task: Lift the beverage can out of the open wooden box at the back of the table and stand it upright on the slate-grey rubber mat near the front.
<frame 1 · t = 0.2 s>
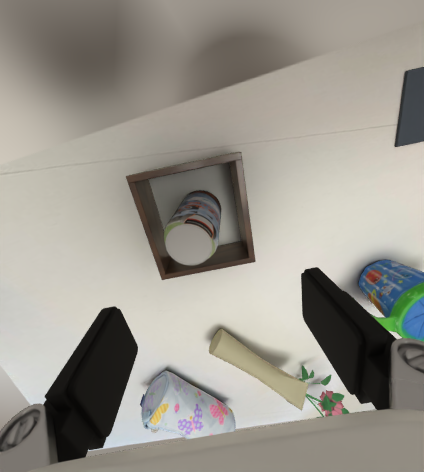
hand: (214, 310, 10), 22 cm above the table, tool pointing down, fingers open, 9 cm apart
open wooden box: (197, 211, 31), on the table
flower vase: (277, 358, 45), on the table
snack cup: (376, 275, 37), on the table
beverage can: (197, 211, 31), resting in open wooden box
pencil case: (191, 388, 47), on the table
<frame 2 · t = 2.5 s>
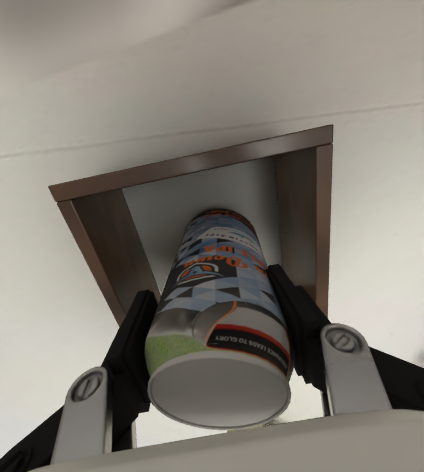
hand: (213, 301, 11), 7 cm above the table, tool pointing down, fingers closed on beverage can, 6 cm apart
open wooden box: (212, 243, 17), on the table
beverage can: (212, 242, 18), resting in open wooden box, touching gripper
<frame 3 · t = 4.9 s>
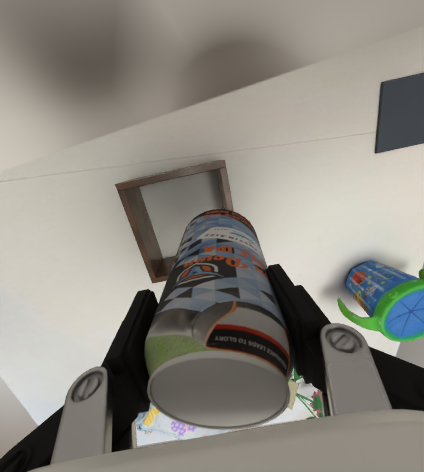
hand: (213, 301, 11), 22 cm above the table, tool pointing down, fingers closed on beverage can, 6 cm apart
open wooden box: (187, 216, 32), on the table
mat: (405, 113, 28), on the table
flower vase: (269, 359, 46), on the table
snack cup: (362, 276, 38), on the table
beverage can: (211, 242, 18), point 15 cm above the table, touching gripper
pencil case: (185, 390, 48), on the table
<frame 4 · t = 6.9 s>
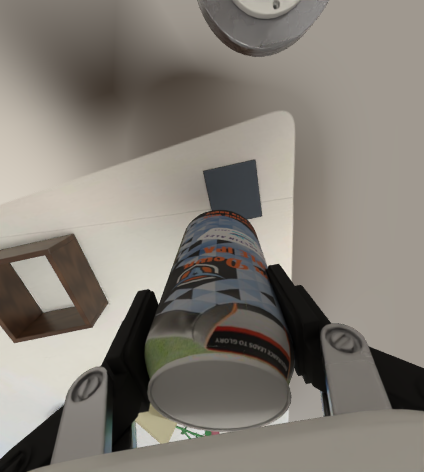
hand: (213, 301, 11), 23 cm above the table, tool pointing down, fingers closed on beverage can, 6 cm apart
open wooden box: (56, 278, 36), on the table
mat: (233, 194, 32), on the table
flower vase: (168, 394, 49), on the table
beverage can: (212, 243, 18), point 16 cm above the table, touching gripper
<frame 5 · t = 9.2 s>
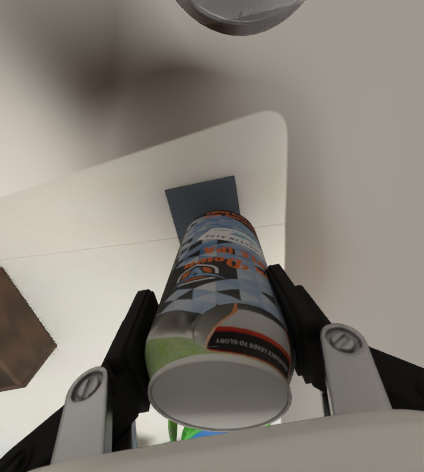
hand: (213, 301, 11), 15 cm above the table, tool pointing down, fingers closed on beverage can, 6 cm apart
mat: (207, 219, 24), on the table
snack cup: (216, 368, 35), on the table
beverage can: (212, 243, 18), point 7 cm above the table, touching gripper
when the fingers open (8 cm above the table, at t = 11.4 s): beverage can stays where it is, resting on mat.
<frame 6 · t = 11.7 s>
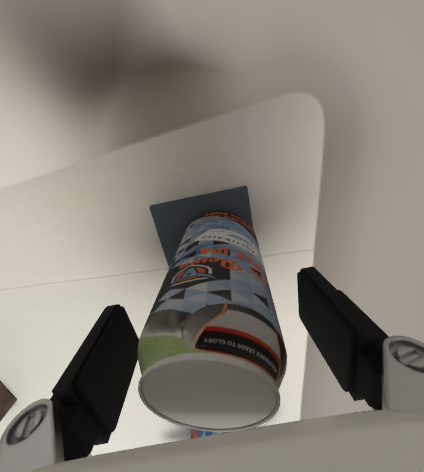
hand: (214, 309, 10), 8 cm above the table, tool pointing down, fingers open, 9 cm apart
mat: (209, 245, 18), on the table
beverage can: (212, 244, 18), resting on mat
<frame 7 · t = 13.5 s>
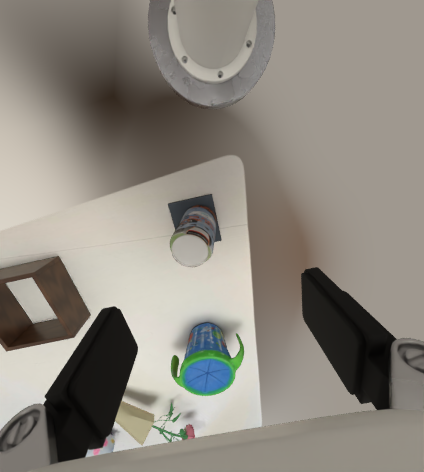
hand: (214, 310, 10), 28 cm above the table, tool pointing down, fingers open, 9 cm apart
open wooden box: (44, 294, 41), on the table
mat: (195, 222, 37), on the table
flower vase: (148, 397, 54), on the table
snack cup: (206, 333, 47), on the table
beverage can: (197, 221, 37), resting on mat
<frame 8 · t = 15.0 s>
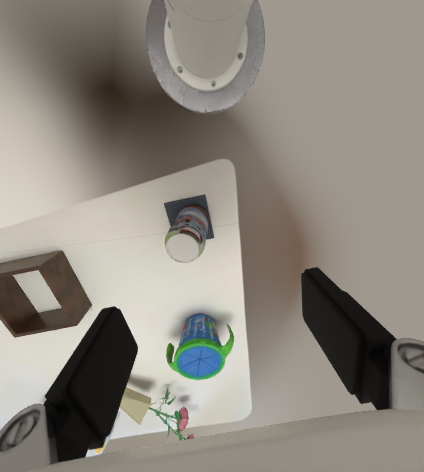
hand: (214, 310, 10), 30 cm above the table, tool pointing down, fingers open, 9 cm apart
open wooden box: (48, 285, 44), on the table
mat: (190, 220, 40), on the table
flower vase: (146, 382, 58), on the table
snack cup: (200, 323, 50), on the table
beverage can: (191, 220, 40), resting on mat
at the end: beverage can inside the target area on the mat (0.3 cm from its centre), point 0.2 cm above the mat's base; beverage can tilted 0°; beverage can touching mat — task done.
